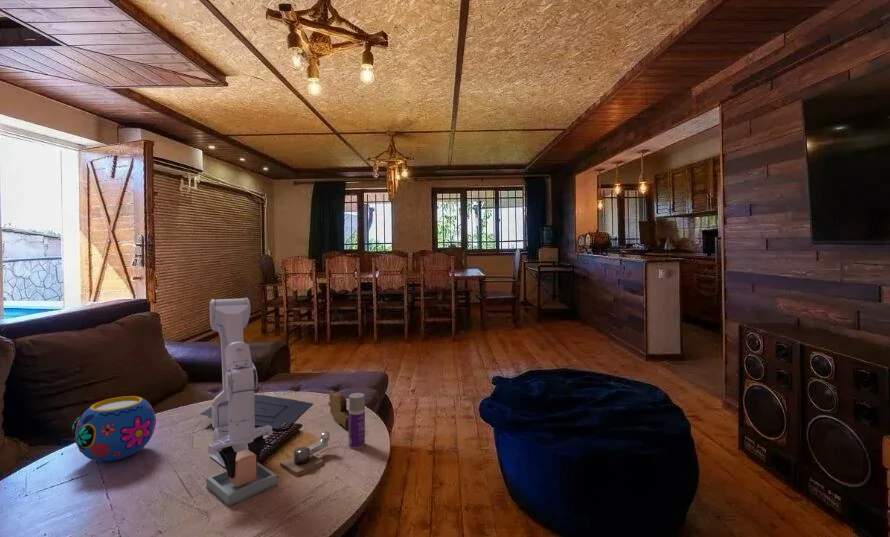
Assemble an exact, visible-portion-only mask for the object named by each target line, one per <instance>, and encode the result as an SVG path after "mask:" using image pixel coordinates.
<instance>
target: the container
mask: <svg viewBox="0 0 890 537" xmlns="http://www.w3.org/2000/svg"><path fill="white" fill-rule="evenodd" d="M365 402H366V398H365V393H362V392H354V393H351V394H349V396H348V410H349V427H348V447H349V448H350V449H353V450H355V449H356V450H357V449H362V448H364V447H365V443H366V442H365V441H366V440H365V439H366V432H365V431H366V430H365V429H366V404H365Z"/></svg>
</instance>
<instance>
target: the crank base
mask: <svg viewBox="0 0 890 537" xmlns="http://www.w3.org/2000/svg"><path fill="white" fill-rule="evenodd" d="M323 465H324V460H323V459H321V458H319V457H317V456H316V455H314V454H312V455H310V460H309V461H308V462H307V463H304V464H296V463H294V455H293V456H292V457H290V458H287V459H284V460H282V461H280V462H279V466H280V467H281V468H283V469H284V470H286V471H287V472H289V473H291V474H292V475H294V476H296V477H298V476H300V475H303V474H305V473H307V472H310V471H312V470H313V469H316V468H319V467H321V466H323Z"/></svg>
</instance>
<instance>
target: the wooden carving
mask: <svg viewBox="0 0 890 537" xmlns="http://www.w3.org/2000/svg"><path fill="white" fill-rule="evenodd" d="M328 396H329V401H328V406H329V407H330V410H329V411H330V414H331V416H332V418H333V420H334V421H335V422H336V425H339V426H341V425H342V427H343V428H344V429H346V428H349V409H348V408H347V407H348V405H347V402H348V401H347V398H346V396H344V395H343V394H341V393H340V392H333V393H332V392H331V393H329V394H328Z"/></svg>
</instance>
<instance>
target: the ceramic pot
mask: <svg viewBox="0 0 890 537" xmlns="http://www.w3.org/2000/svg"><path fill="white" fill-rule="evenodd" d="M156 424H157V417H156V414H155V410H154V408H153V406H152V404H151V403H150V402H149V401H147V399H145V398H143V397H140V396H136V395H128V396H117V397H112V398H107V399H103V400H101V401H97V402H96V403H94V404H92V405H91V406H90V407H89V408H87V409H86V410H85V411H84V412H83V414H82V415H80V416H79V417H77V418H76V419H75V420H74V422H73V424H72V429H71V430H72V433H73V435H74V436H75V437H74V443H75V444H76V445H77V448H78V450H79V452H80V453H81V454H82V455H83V456H84V457H86V458H87V459H88V460H92V461H97V462H98V461H99V462H113V461H118V460H122V459H125V458H127V457H131V456H132V455H135V454H136V453H137V452H139V451H140V450H142V449H143V448H145V447H146V446H147V444H148V443H149V442H150V440H151V438H152V436H153V435H154V433H155V429H156Z"/></svg>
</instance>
